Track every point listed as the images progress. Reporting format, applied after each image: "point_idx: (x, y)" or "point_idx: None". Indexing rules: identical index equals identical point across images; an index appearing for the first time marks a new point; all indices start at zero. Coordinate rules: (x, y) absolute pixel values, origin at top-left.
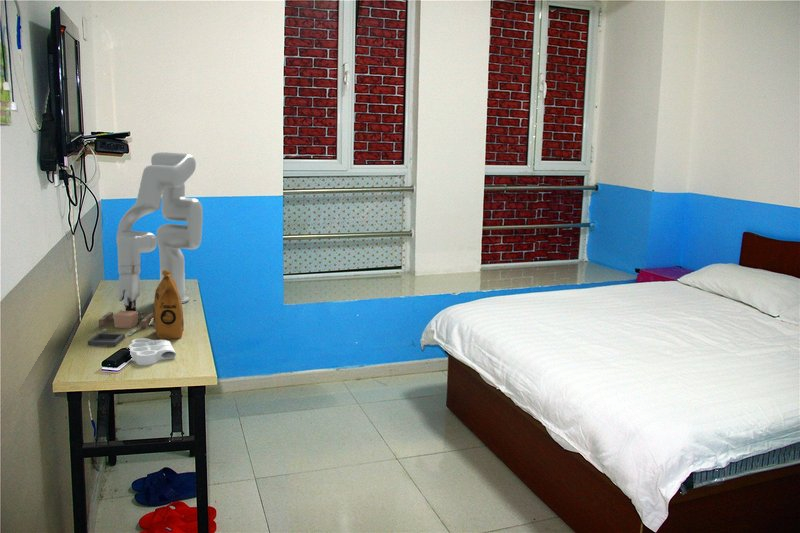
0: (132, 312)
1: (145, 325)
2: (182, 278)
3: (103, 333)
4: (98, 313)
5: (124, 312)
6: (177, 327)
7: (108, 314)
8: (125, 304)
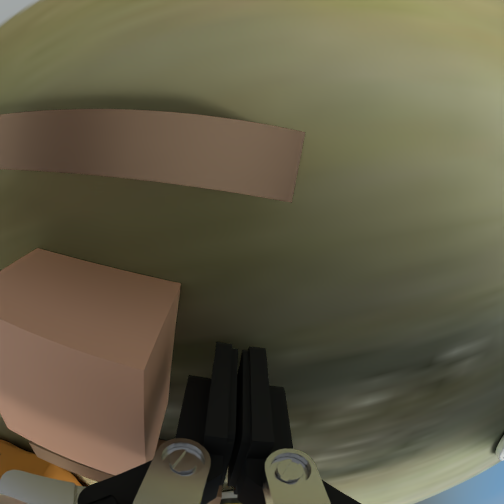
0: (92, 455)
1: None
2: None
3: None
4: (497, 48)
5: (67, 402)
6: None
7: (152, 154)
8: (9, 488)
